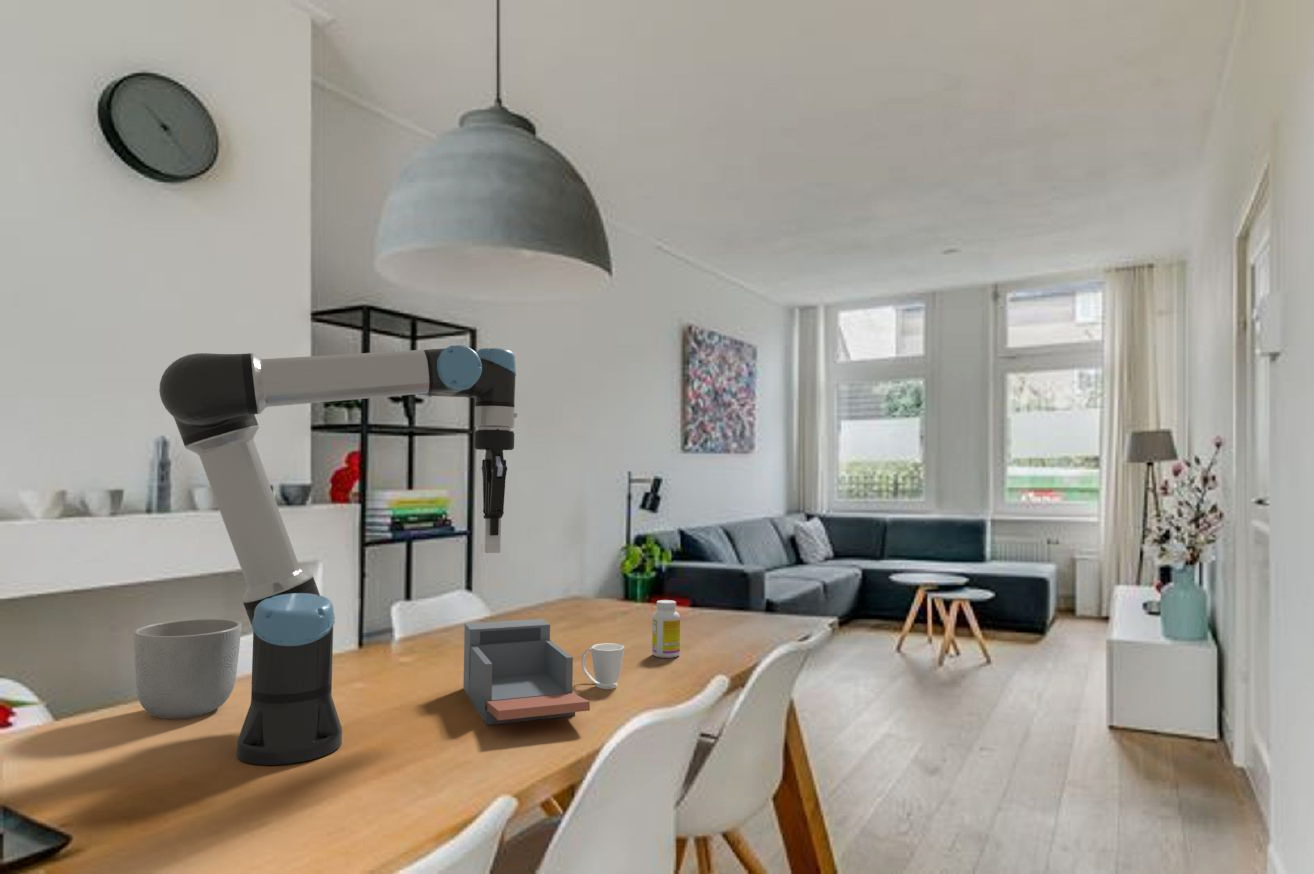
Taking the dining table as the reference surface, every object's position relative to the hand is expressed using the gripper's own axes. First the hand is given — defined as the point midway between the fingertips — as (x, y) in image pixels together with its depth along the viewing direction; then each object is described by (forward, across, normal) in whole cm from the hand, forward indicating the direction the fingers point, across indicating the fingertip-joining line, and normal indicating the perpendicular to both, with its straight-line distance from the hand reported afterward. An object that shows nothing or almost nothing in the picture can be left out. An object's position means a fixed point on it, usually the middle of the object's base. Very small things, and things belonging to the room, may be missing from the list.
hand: (492, 552), depth 156 cm
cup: (+29, +5, -24) cm, 38 cm away
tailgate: (+25, -13, -5) cm, 29 cm away
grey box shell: (+28, +8, -5) cm, 30 cm away
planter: (+29, +12, +52) cm, 61 cm away
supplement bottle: (+29, +25, -47) cm, 60 cm away
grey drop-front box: (+28, -4, -5) cm, 29 cm away
